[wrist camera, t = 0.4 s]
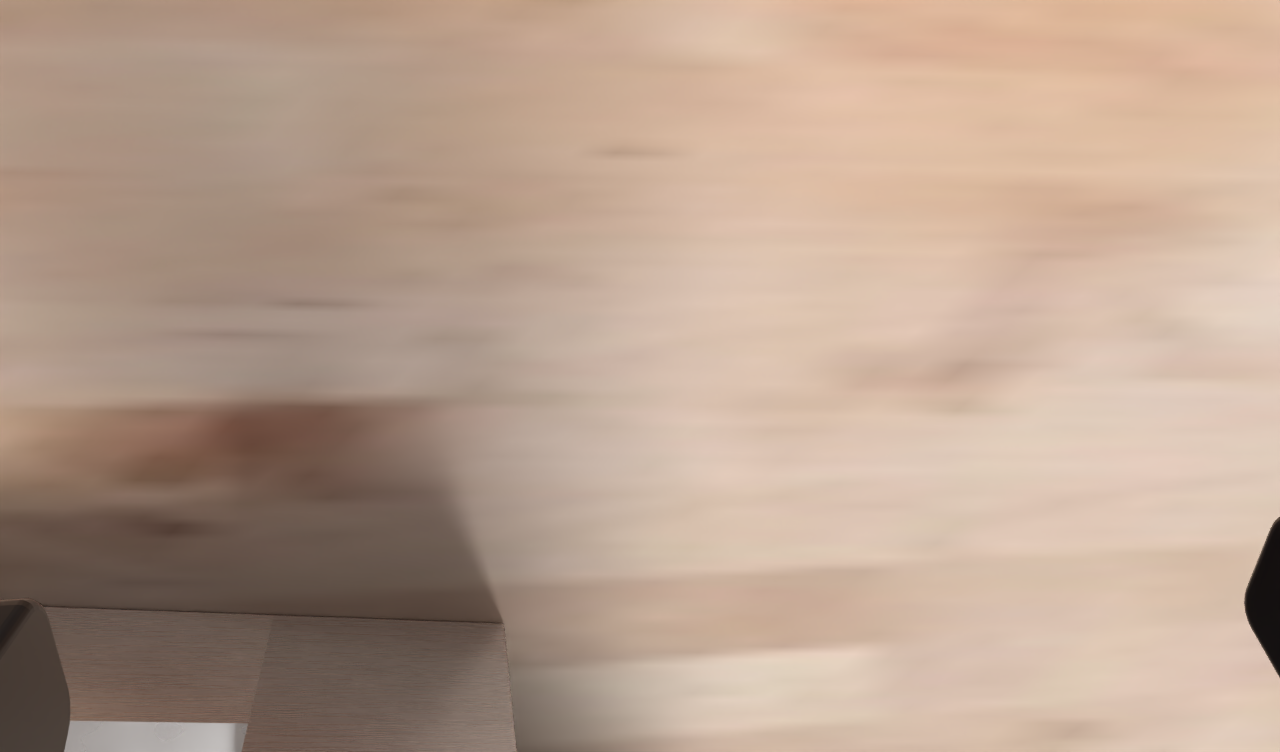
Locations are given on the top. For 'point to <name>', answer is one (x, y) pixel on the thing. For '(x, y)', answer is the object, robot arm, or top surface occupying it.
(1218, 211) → the top surface
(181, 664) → the silver disc stand
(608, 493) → the top surface
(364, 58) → the top surface
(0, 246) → the top surface
